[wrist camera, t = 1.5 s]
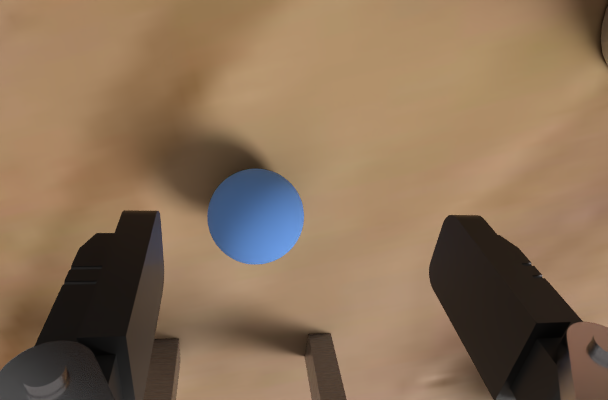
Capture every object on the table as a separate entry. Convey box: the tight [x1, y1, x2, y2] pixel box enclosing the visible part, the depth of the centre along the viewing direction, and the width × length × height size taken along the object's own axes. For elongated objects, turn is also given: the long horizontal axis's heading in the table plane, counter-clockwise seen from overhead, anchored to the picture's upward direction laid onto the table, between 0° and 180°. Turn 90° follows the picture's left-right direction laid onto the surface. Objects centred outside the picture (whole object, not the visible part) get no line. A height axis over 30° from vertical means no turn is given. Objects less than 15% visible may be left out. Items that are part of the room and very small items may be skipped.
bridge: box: [143, 334, 346, 400], centre depth 35 cm, size 3×15×10 cm, turn 84°
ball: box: [208, 169, 304, 264], centre depth 28 cm, size 6×6×6 cm
